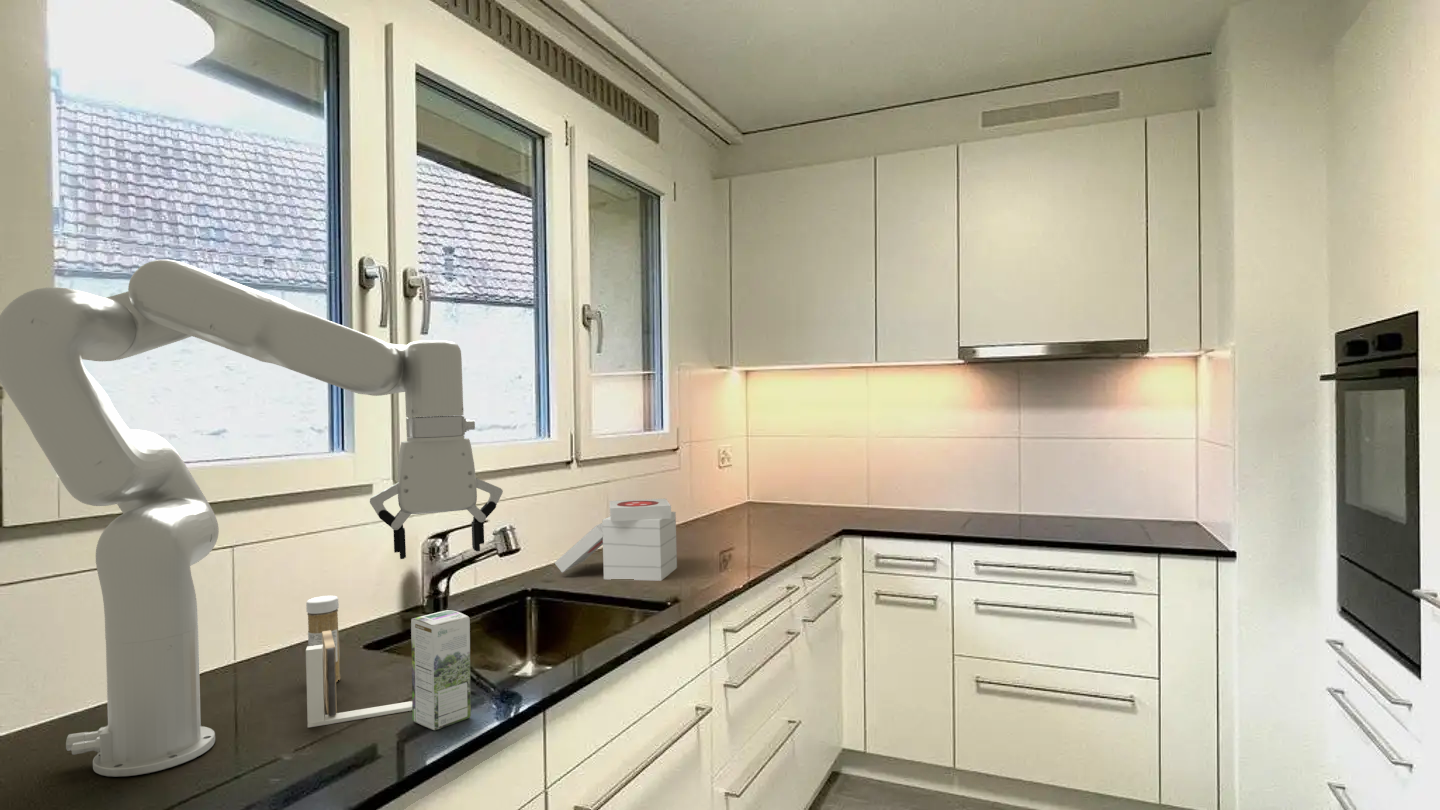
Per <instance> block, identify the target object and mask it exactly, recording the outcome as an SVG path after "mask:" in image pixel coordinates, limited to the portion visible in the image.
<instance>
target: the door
mask: <svg viewBox="0 0 1440 810" xmlns="http://www.w3.org/2000/svg"><path fill="white" fill-rule="evenodd" d="M322 644H323V660H324V699H325V710H326V713H327V714H326V715H329V716H334V715H336V713H338V703H337V682H336V655H335V644H334V640H333V636H332V633H331V630H329V631H322Z"/></svg>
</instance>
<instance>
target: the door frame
mask: <svg viewBox="0 0 1440 810" xmlns="http://www.w3.org/2000/svg"><path fill="white" fill-rule="evenodd" d="M305 668H306V669H305V670H306V709H307V728H314V727H320V726H325V725H331V724H337V723H338V724H339V723H344V722H350V721H356V720H362V719H366V718H367V719H370V718H374V717H379V716H386V715H391V714H397V713H405V712H408V711H409V712H411V711H412V700H411V701H405V702H398V703H397V702H396V703H392V704H386V705H380V706H379V705H378V706H374V707H367V708H361V709H355V710H350V711H349V710H348V711H342V712H337V713H336V715H334V716H329V714H326V703H325V698H324V660H323V644H322V645H315V646H309V645H307V646H306V649H305Z"/></svg>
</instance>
